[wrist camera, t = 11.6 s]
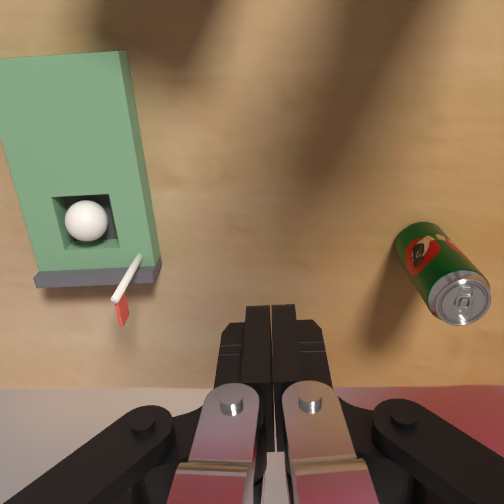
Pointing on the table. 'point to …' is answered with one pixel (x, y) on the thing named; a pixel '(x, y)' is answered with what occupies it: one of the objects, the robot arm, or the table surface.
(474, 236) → the table surface
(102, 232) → the ball
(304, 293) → the table surface
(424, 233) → the soda can
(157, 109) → the table surface
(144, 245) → the green
